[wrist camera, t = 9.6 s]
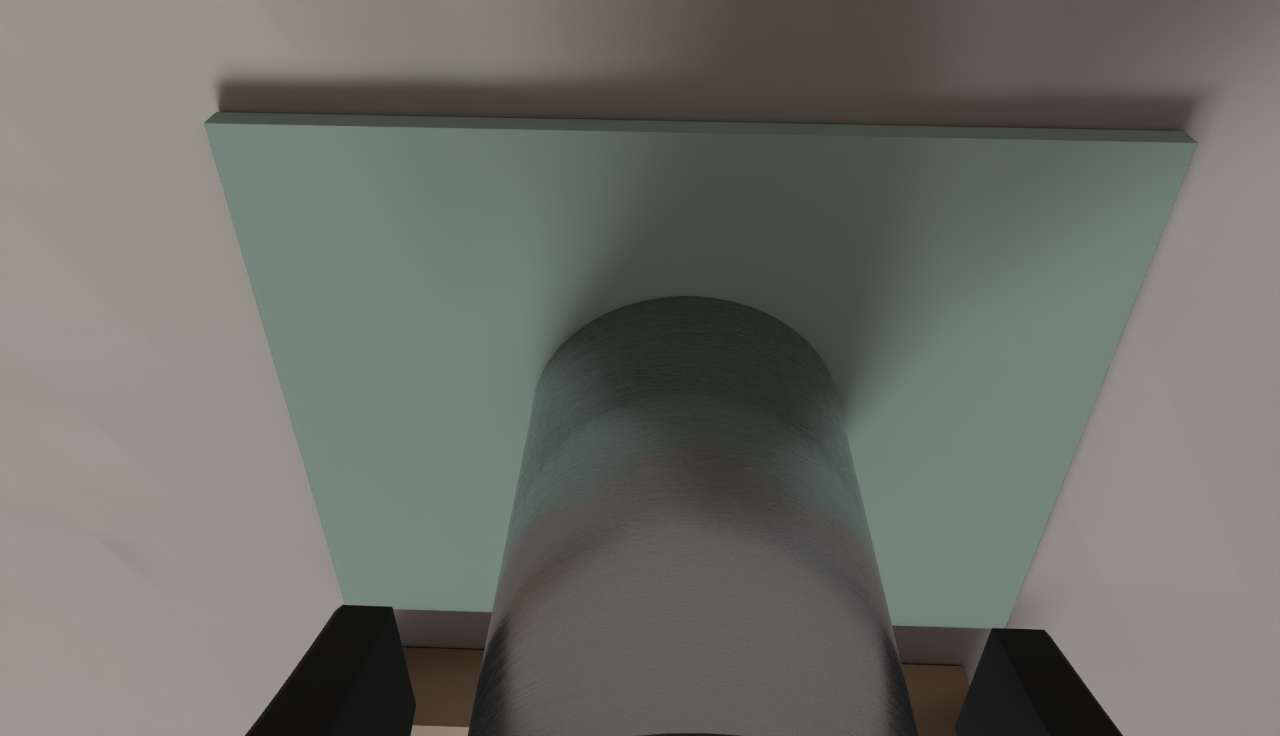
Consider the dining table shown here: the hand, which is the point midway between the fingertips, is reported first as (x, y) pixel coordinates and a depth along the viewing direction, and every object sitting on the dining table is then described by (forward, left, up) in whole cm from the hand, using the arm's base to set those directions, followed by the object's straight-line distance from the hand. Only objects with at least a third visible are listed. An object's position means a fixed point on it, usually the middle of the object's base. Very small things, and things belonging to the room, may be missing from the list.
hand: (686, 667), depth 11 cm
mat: (0, 0, -5) cm, 5 cm away
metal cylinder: (0, 0, -5) cm, 5 cm away
